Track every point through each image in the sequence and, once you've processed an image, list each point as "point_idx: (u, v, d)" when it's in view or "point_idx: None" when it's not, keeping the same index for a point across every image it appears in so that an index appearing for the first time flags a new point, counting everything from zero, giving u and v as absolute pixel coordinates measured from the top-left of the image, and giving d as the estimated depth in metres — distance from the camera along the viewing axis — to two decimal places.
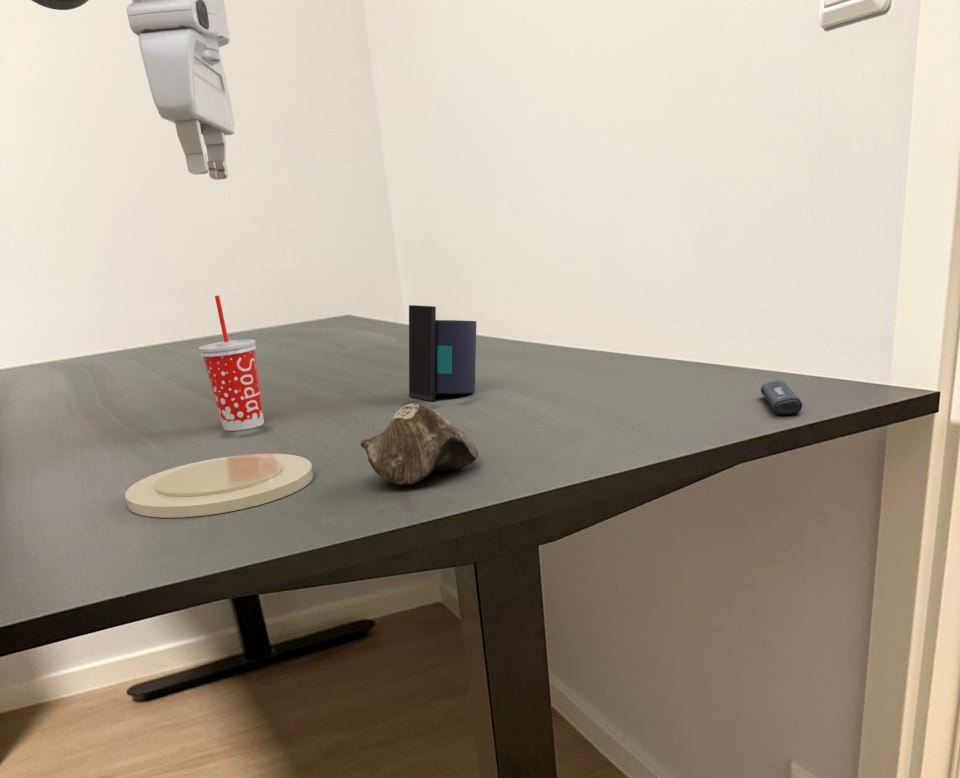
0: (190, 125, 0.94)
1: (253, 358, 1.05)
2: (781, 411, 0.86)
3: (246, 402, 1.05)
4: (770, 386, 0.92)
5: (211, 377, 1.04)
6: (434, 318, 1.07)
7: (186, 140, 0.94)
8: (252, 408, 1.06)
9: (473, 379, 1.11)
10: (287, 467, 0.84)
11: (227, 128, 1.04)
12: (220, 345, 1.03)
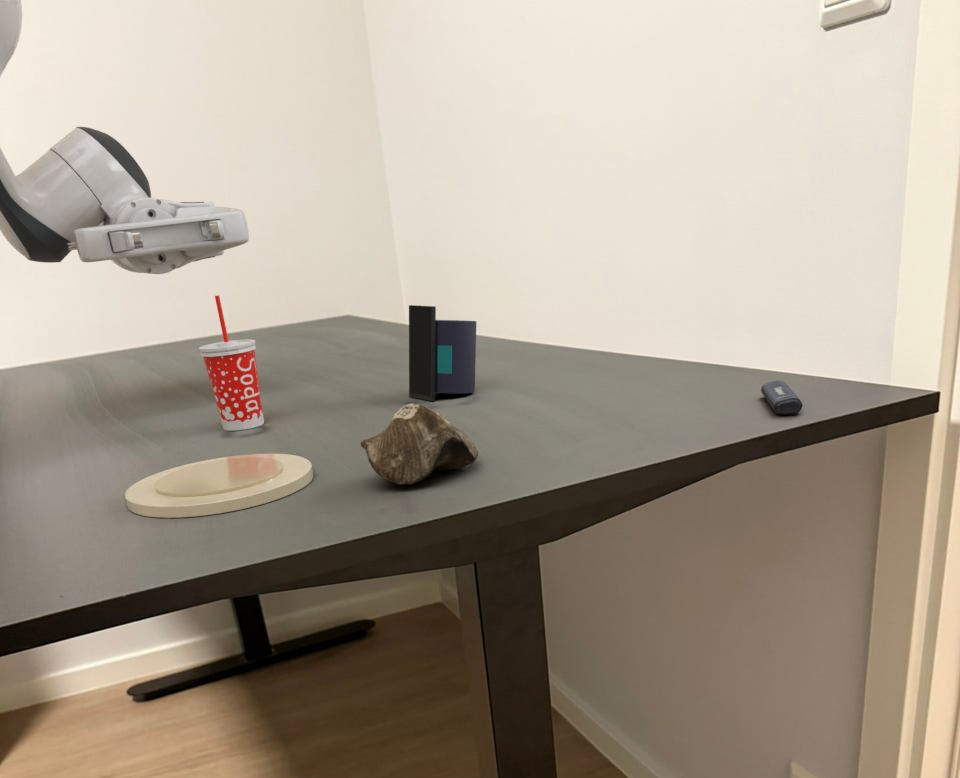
0: None
1: (253, 358, 1.05)
2: (781, 411, 0.86)
3: (246, 402, 1.05)
4: (770, 386, 0.92)
5: (211, 377, 1.04)
6: (434, 318, 1.07)
7: (222, 226, 1.14)
8: (252, 408, 1.06)
9: (473, 379, 1.11)
10: (287, 467, 0.84)
11: (125, 256, 1.12)
12: (220, 345, 1.03)
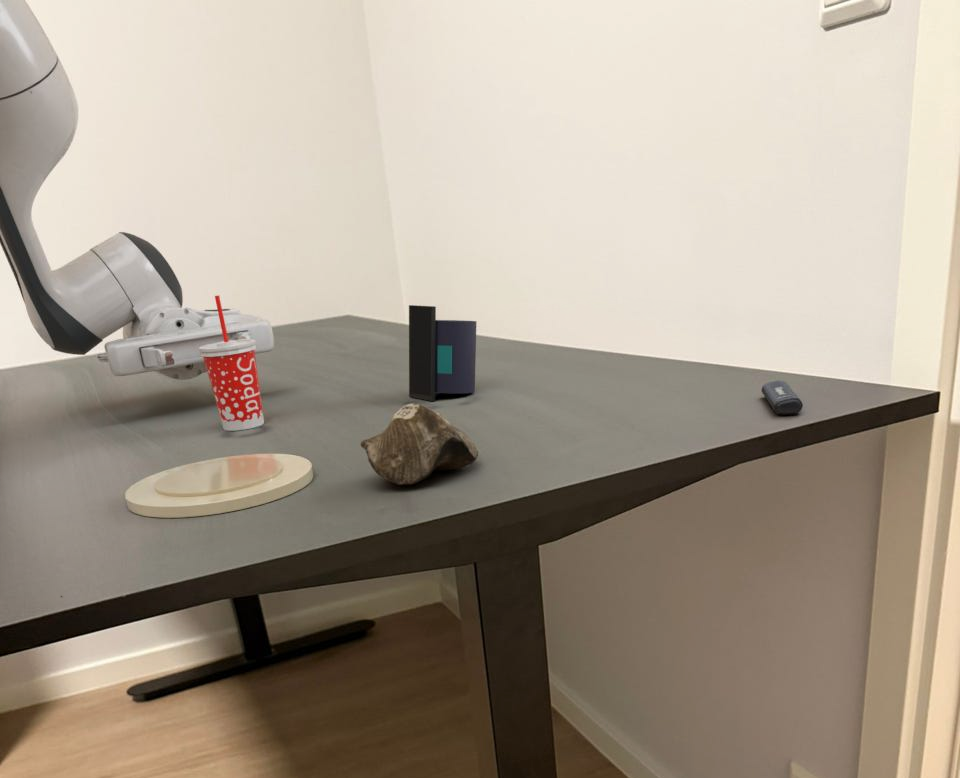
0: None
1: (253, 358, 1.05)
2: (781, 411, 0.86)
3: (246, 402, 1.05)
4: (771, 386, 0.92)
5: (211, 377, 1.04)
6: (434, 318, 1.07)
7: (249, 338, 1.17)
8: (252, 408, 1.06)
9: (473, 379, 1.11)
10: (287, 467, 0.84)
11: (155, 370, 1.14)
12: (220, 345, 1.03)
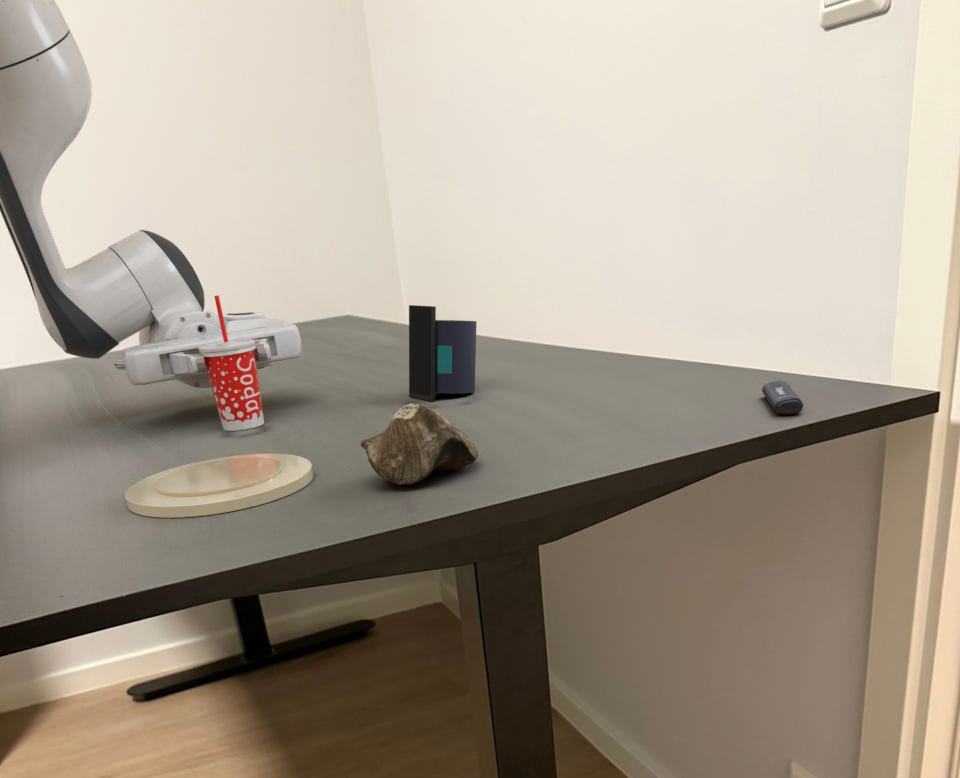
0: None
1: (253, 358, 1.05)
2: (782, 411, 0.86)
3: (246, 402, 1.05)
4: (771, 386, 0.92)
5: (211, 377, 1.04)
6: (434, 318, 1.07)
7: None
8: (252, 408, 1.06)
9: (473, 379, 1.11)
10: (287, 467, 0.84)
11: (176, 378, 1.07)
12: (220, 345, 1.03)
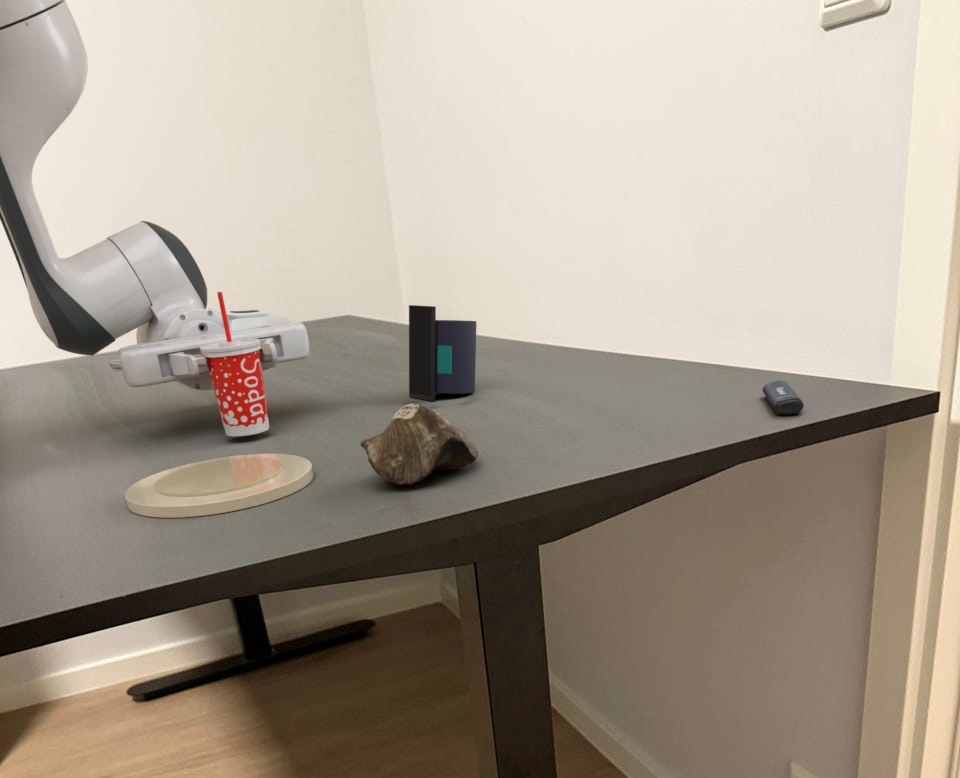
0: None
1: (258, 359, 0.98)
2: (782, 411, 0.86)
3: (250, 406, 0.98)
4: (772, 386, 0.92)
5: (213, 379, 0.97)
6: (434, 318, 1.07)
7: None
8: (257, 413, 0.99)
9: (473, 379, 1.11)
10: (287, 467, 0.84)
11: (176, 380, 1.00)
12: (223, 345, 0.97)
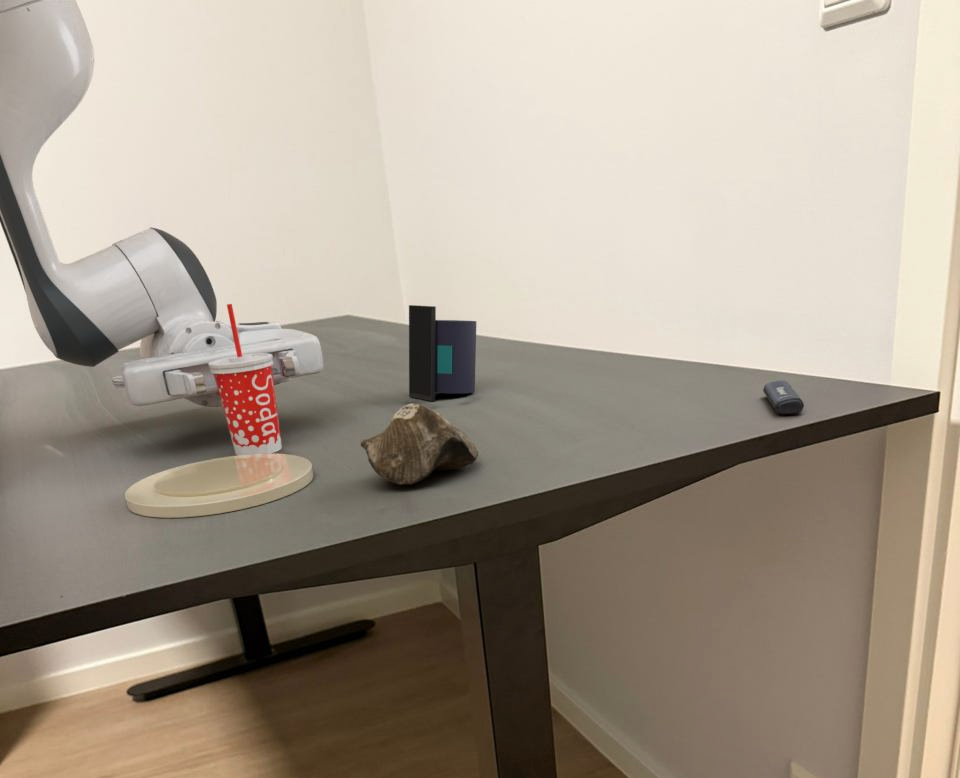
0: None
1: (270, 375, 0.92)
2: (782, 411, 0.86)
3: (262, 425, 0.92)
4: (772, 386, 0.92)
5: (222, 397, 0.92)
6: (434, 318, 1.07)
7: None
8: (269, 432, 0.93)
9: (473, 379, 1.11)
10: (287, 467, 0.84)
11: None
12: (233, 360, 0.91)
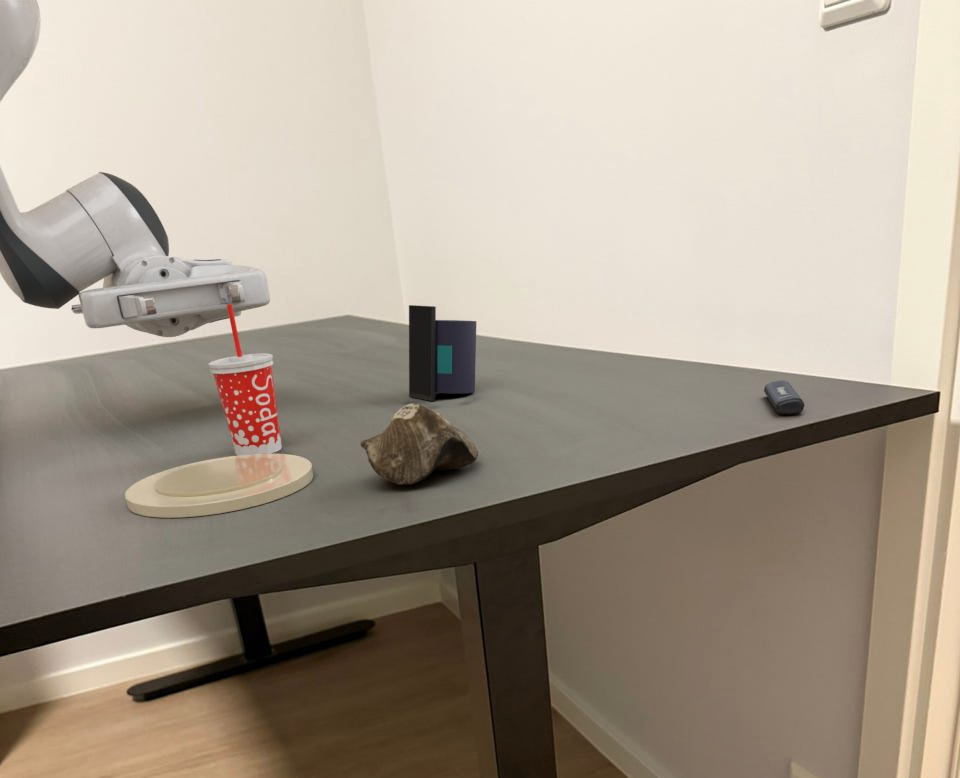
0: None
1: (270, 375, 0.92)
2: (783, 411, 0.86)
3: (262, 425, 0.92)
4: (773, 386, 0.92)
5: (222, 397, 0.92)
6: (434, 318, 1.07)
7: None
8: (269, 432, 0.93)
9: (473, 379, 1.11)
10: (287, 467, 0.84)
11: (136, 322, 1.02)
12: (233, 360, 0.91)
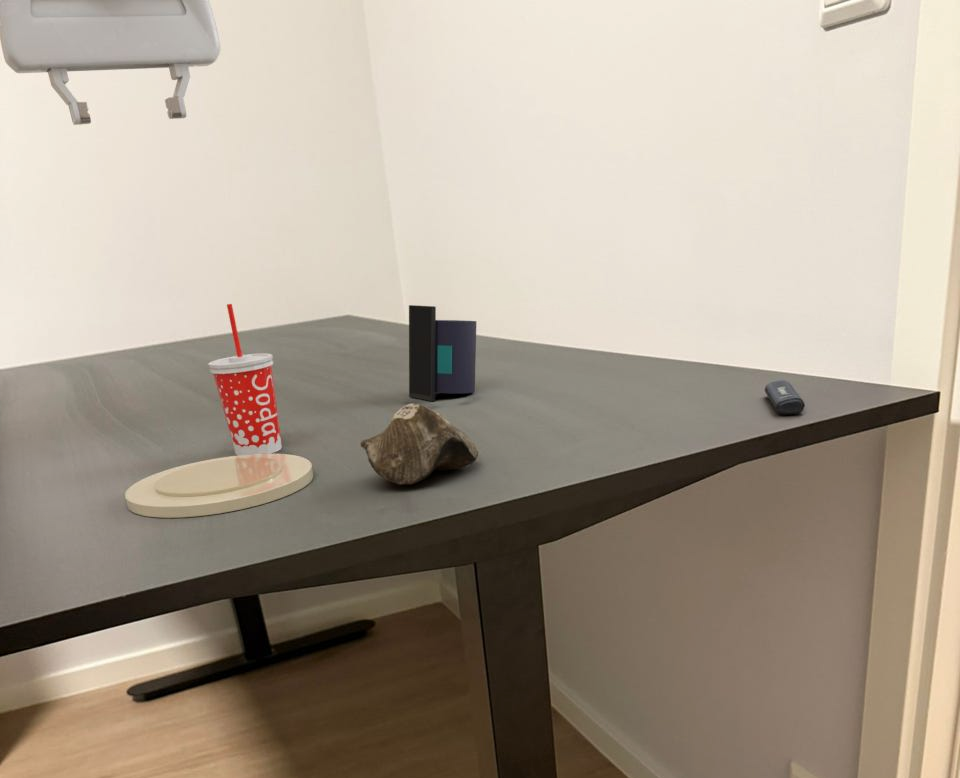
0: None
1: (270, 375, 0.92)
2: (783, 411, 0.86)
3: (262, 425, 0.92)
4: (774, 386, 0.92)
5: (222, 397, 0.92)
6: (434, 318, 1.07)
7: None
8: (269, 432, 0.93)
9: (473, 379, 1.11)
10: (287, 467, 0.84)
11: None
12: (233, 360, 0.91)
